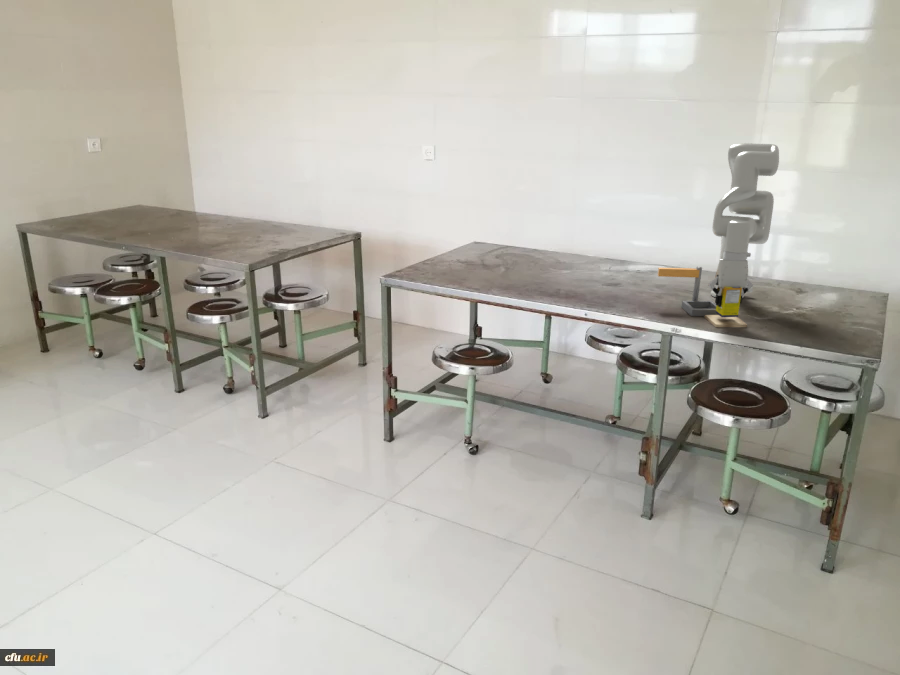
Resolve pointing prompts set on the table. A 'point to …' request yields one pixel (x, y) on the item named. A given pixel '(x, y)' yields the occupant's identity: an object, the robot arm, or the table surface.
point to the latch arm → (684, 273)
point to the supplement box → (730, 302)
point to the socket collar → (690, 306)
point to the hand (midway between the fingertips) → (727, 305)
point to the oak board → (725, 321)
